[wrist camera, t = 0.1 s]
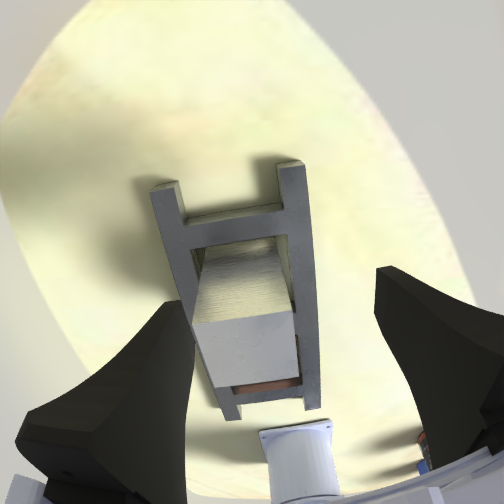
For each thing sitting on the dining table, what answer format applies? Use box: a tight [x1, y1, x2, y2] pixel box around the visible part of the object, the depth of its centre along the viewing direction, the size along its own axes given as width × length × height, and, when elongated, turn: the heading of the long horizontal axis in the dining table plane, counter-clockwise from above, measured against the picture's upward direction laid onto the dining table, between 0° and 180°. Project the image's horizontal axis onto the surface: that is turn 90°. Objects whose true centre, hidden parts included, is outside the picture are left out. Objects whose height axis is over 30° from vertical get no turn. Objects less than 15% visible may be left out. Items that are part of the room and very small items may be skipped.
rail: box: [150, 160, 321, 421], centre depth 23 cm, size 22×9×2 cm, turn 9°
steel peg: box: [192, 237, 299, 388], centre depth 19 cm, size 4×4×8 cm
